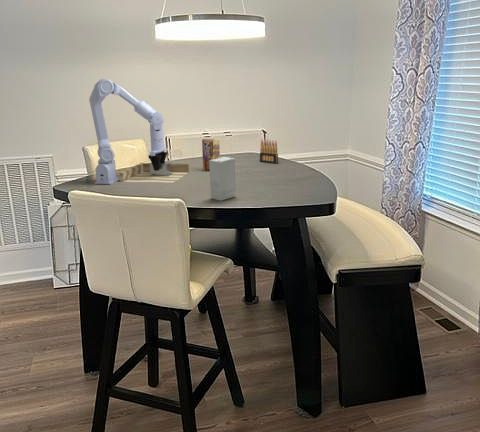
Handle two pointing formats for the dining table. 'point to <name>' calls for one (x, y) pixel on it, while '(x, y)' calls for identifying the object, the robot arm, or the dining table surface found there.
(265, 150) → the ammunition clip
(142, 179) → the arena
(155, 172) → the bracket
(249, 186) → the dining table surface
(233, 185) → the skincare box
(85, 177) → the dining table surface
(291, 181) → the dining table surface
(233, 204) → the dining table surface
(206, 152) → the candy box
